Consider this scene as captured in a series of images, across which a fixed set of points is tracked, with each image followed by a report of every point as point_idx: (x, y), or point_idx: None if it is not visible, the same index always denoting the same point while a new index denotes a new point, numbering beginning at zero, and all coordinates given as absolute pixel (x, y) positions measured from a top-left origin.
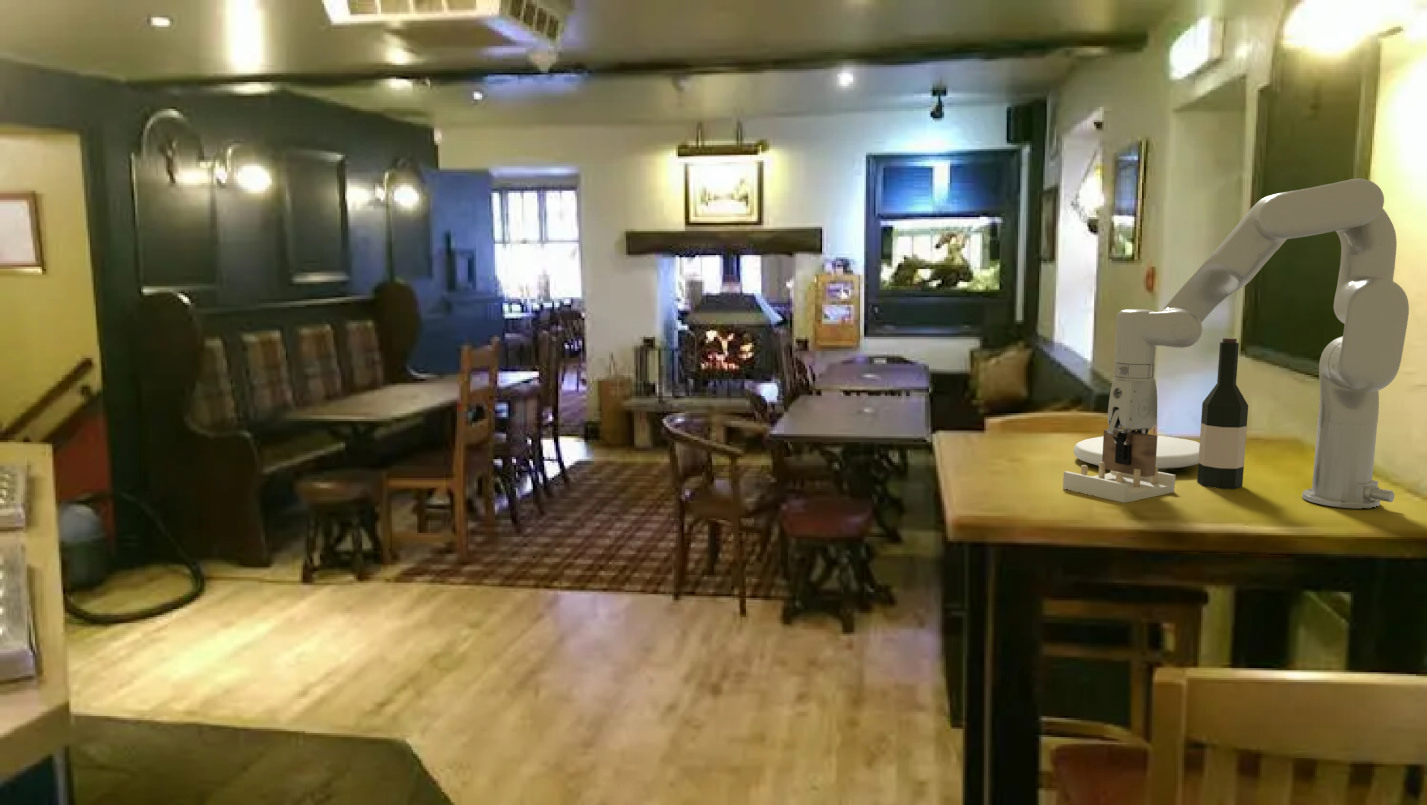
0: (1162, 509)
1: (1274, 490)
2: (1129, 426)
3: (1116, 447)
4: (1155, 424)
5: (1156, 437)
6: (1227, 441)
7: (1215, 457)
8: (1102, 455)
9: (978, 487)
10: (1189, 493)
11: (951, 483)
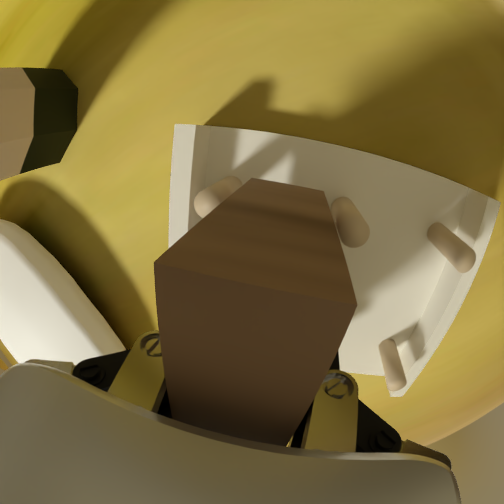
0: (462, 73)
1: (38, 34)
2: (446, 481)
3: None
4: (27, 367)
5: (178, 256)
6: None
7: (9, 105)
8: None
9: (441, 424)
10: (181, 88)
11: (427, 444)
